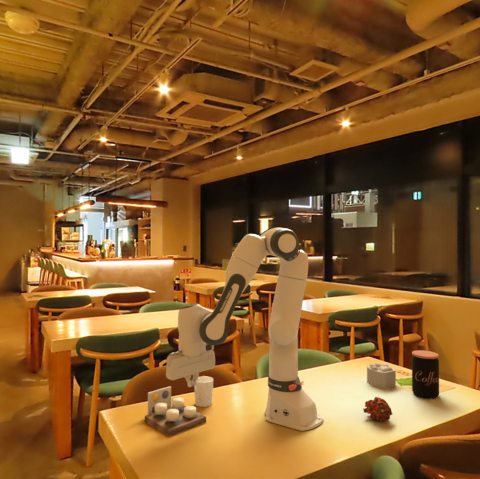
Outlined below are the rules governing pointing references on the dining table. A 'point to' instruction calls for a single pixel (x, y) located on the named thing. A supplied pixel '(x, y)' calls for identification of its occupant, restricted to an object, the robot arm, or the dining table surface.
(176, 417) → the button
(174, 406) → the button
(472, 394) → the dining table surface
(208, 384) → the white cup
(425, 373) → the coffee jar
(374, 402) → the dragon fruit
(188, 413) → the button
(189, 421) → the board
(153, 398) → the card
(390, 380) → the grey toy brick
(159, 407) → the button
